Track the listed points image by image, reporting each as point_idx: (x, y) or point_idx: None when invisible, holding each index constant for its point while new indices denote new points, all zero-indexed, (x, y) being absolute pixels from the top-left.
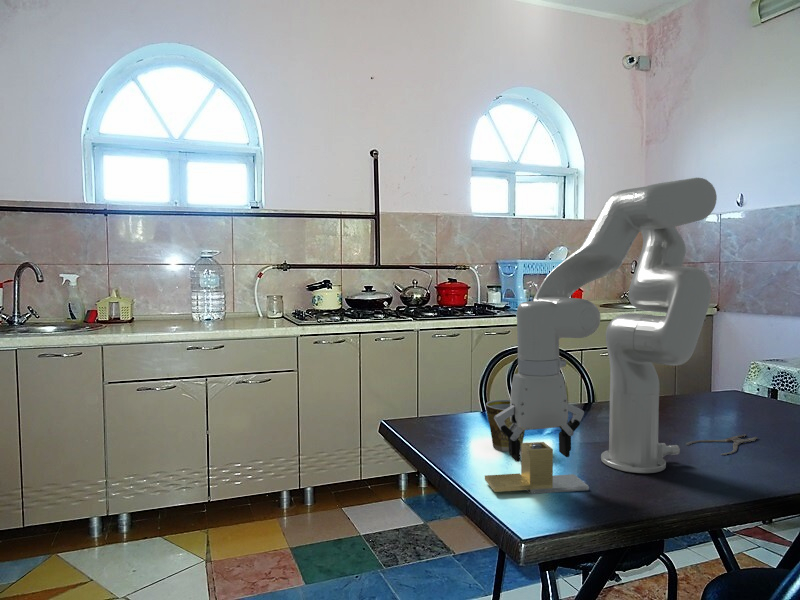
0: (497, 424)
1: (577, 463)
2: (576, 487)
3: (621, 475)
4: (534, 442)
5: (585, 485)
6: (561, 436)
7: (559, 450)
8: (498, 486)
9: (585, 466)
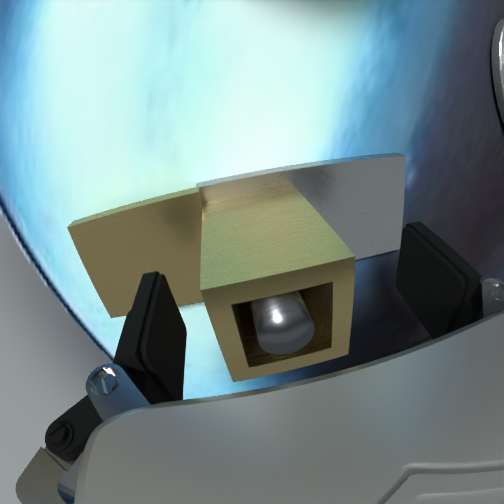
0: (39, 455)
1: (440, 33)
2: (366, 256)
3: (493, 148)
4: (294, 271)
5: (393, 246)
6: (447, 304)
7: (406, 232)
8: (120, 311)
9: (453, 62)
